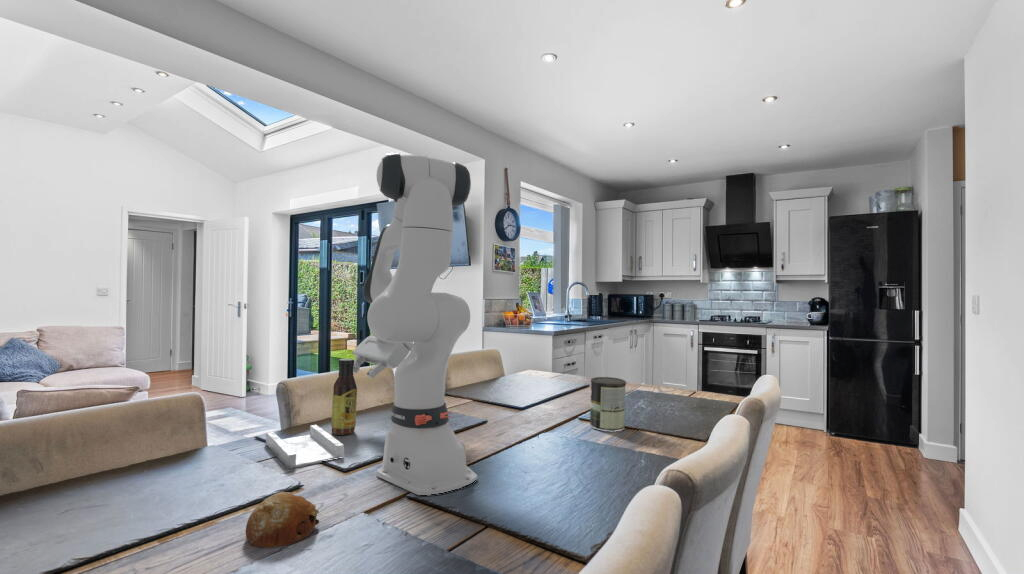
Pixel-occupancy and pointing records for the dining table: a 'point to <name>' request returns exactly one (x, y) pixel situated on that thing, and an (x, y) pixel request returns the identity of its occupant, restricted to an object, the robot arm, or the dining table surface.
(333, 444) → the track
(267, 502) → the bread roll
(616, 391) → the coffee can
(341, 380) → the sauce bottle
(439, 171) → the robot arm
